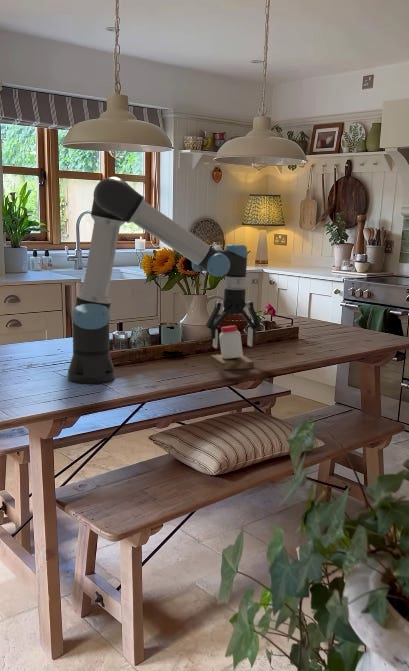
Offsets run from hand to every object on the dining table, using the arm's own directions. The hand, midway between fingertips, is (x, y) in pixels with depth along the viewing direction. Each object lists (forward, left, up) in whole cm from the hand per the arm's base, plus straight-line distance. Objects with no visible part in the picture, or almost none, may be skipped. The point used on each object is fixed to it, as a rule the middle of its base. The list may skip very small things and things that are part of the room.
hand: (232, 346), depth 221 cm
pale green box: (-16, +24, -7) cm, 30 cm away
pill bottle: (0, 0, -4) cm, 4 cm away
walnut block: (0, 0, -7) cm, 7 cm away
